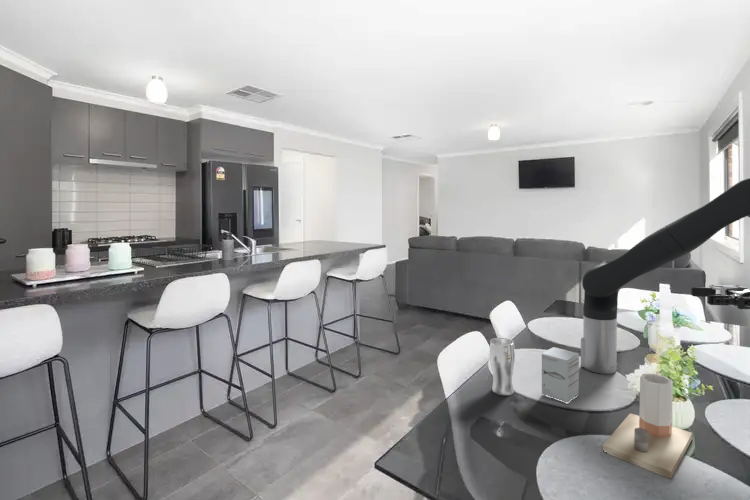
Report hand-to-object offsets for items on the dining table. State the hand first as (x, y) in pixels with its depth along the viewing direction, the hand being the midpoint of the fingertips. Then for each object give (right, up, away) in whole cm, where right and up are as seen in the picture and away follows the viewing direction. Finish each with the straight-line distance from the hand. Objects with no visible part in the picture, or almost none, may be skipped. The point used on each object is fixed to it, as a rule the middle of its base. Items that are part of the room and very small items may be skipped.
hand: (699, 295), depth 92 cm
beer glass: (-41, -31, +20) cm, 55 cm away
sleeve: (-14, -30, -5) cm, 33 cm away
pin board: (-18, -32, -8) cm, 37 cm away
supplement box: (-26, -30, +16) cm, 43 cm away
